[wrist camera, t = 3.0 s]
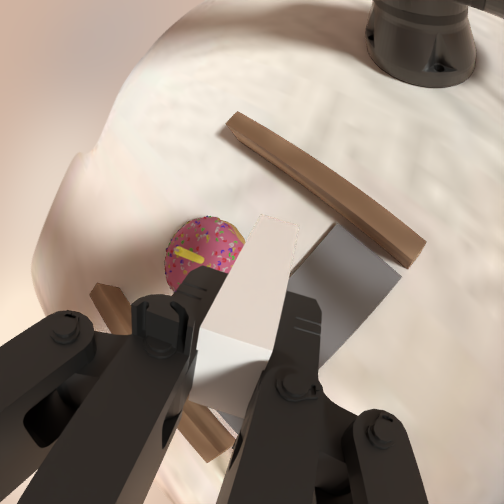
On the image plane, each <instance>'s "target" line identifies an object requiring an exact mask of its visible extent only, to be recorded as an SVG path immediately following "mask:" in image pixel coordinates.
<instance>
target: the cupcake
mask: <svg viewBox="0 0 504 504" xmlns="http://www.w3.org/2000/svg"><path fill="white" fill-rule="evenodd" d="M244 244H245V240H244V238H243V236H242V235H241V234H240V233H239V231H238V230H237V228H236V227H235V226H234V225H232V224H230V223H228V222H226V221H223V220H220V219H219V218H217V217H211V216H209V217H208V216H206V217H203V218H198V219H194V220H192V221H188V222H187V224H186V225H183V226H182V228H181V229H180V230H178V232H177V233H176V234H175V235H174V237H173V238H172V239H171V242H170V243H169V247H168V248H167V249H166V252H167V254H166V257H165V261H164V265H165V274H166V280H167V283H168V284H169V286H170V289H172V290H173V291H174V292H176V290H177V288H178V287H179V286H180V284H182V282H183V280H184V279H185V277H186V276H187V275H188V273H189V272H190V271H192V270H194V269H196V268H198V267H200V266H202V265H203V266H207V267H210V268H213V269H216V270H219V271H222V272H225V273H228V274H229V272H230V270H231V268H232V266H233V265H234V263H235V261H236V259H237V257H238V255H239V254H240V252H241V250H242V248H243V246H244Z"/></svg>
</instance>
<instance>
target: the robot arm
mask: <svg viewBox="0 0 504 504" xmlns="http://www.w3.org/2000/svg"><path fill="white" fill-rule="evenodd" d="M468 6H471V7H474V8H477V9H480V10H482V11H485V12H488V13H490V14H493V15H495V16H498V17H500V18H503V19H504V0H373V2H372V6H371V10H370V14H369V18H368V22H367V26H366V31H365V37H366V44H367V49H368V52H369V55H370V57H371V58H372V60H373V61H374V62H375V63H376V64H377V65H378V66H379V67H380V68H381V69H382V70H384V71H385V72H387V73H388V74H390V75H391V76H393V77H395V78H397V79H400V80H402V81H405V82H407V83H411V84H414V85H418V86H424V87H433V88H443V87H450V86H454V85H457V84H460V83H462V82H464V81H465V80H466V79H468V78H469V77H470V75H471V74H472V72H473V69H474V65H475V60H476V48H475V43H474V39H473V35H472V31H471V27H470V24H469V20H468ZM298 231H299V225H295V224H292V223H289V222H286V221H282V220H279V219H276V218H272V217H269V216H266V215H262V214H261V215H260V217H259V218H258V220H257V222H256V224H255V226H254V228H253V230H252V231H251V233H250V235H249V237H248V239H247V241H246V242H245V244H244V246H243V248H242V250H241V252H240V254H239V255H238V257H237V259H236V261H235V263H234V265H233V266H232V268H231V270H230V272H229V274H228V273H225V272H222V271H219V270H216V269H213V268H210V267H207V266H203V265H202V266H200V267H198V268H196V269H194V270H192V271H190V272H189V273H188V275H187V276H186V277H185V279H184V280H183V282H182V284H180V286H179V287H178V288H177V290H176V292H174V294H173V295H172V296H168V295H163V294H158V295H148V296H145V297H141V298H139V299H138V300H136V301H135V302H134V303H132V304H131V321H132V334H129V335H116V334H109V333H103V332H97V331H94V328H93V324H92V322H91V321H90V320H89V319H88V317H87V316H85V315H83V314H81V313H79V312H75V311H69V310H67V311H58V312H56V313H53V314H51V315H49V316H47V317H45V318H44V319H42V320H41V321H39V322H38V323H36V324H34V325H33V326H31V327H30V328H28V329H27V330H25V331H23V332H22V333H20V334H19V335H17V336H16V337H14V338H13V339H11V340H10V341H8V342H7V343H5V344H4V345H2V346H1V347H0V502H1V501H2V500H3V499H4V498H5V497H7V496H8V495H9V494H10V493H11V492H12V491H13V490H15V489H16V488H17V487H18V486H19V485H20V484H21V483H23V482H24V481H25V480H26V479H27V478H28V477H29V476H31V475H32V474H33V473H34V472H35V471H36V470H37V469H38V468H39V469H38V470H37V472H36V474H35V475H34V477H33V478H32V480H31V481H30V483H29V485H28V486H27V488H26V490H25V491H24V493H23V494H22V496H21V498H20V499H19V501H18V503H17V504H143V502H144V500H145V498H146V496H147V493H148V491H149V489H150V487H151V484H152V482H153V480H154V478H155V476H156V473H157V471H158V469H159V467H160V464H161V462H162V460H163V458H164V456H165V453H166V451H167V449H168V447H169V444H170V442H171V440H172V438H173V436H174V433H175V431H176V429H177V427H178V424H179V422H180V420H181V417H182V412H183V406H184V404H185V402H186V400H187V397H188V395H189V399H188V400H189V401H192V402H195V403H198V404H200V405H203V406H206V407H209V408H212V409H215V410H218V411H221V412H224V413H227V414H230V415H234V416H237V417H240V418H244V421H243V424H242V427H241V429H240V432H239V434H238V436H237V438H236V440H235V443H234V445H233V447H232V449H233V452H232V455H231V458H230V462H229V465H228V468H227V471H226V474H225V477H224V481H223V484H222V487H221V490H220V493H219V496H218V499H217V502H216V504H428V500H427V496H426V493H425V489H424V486H423V482H422V479H421V476H420V472H419V469H418V466H417V463H416V459H415V456H414V453H413V450H412V447H411V444H410V441H409V438H408V435H407V432H406V430H405V428H404V426H403V424H402V423H401V422H400V421H399V420H398V419H397V418H396V417H395V416H394V415H392V414H390V413H388V412H386V411H384V410H378V409H371V410H367V411H364V412H363V413H361V414H360V415H359V416H357V415H355V414H353V413H351V412H349V411H347V410H345V409H343V408H342V407H340V406H338V405H337V404H335V403H334V402H332V401H331V400H330V399H329V398H328V397H327V396H326V395H325V394H324V392H323V387H322V385H321V384H320V382H319V380H318V368H319V354H320V339H321V336H320V335H321V322H322V311H321V309H320V307H319V304H318V302H317V300H316V299H313V298H310V297H307V296H303V295H300V294H297V293H293V292H290V291H287V290H286V289H287V285H288V280H289V275H290V271H291V266H292V261H293V256H294V251H295V246H296V241H297V236H298Z"/></svg>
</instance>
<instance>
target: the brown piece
mask: <svg viewBox="0 0 504 504" xmlns="http://www.w3.org/2000/svg"><path fill="white" fill-rule="evenodd" d="M226 125H227V126H228V127H229V129H230V130H231V131H232V132H233V134H234V135H235V136H236V137H237V139H238V140H239V141H240V142H241V143H243V144H244V145H246V146H247V147H249V148H250V149H252V150H253V151H255V152H256V153H258V154H259V155H261V156H262V157H263V158H265V159H266V160H268V161H269V162H271V163H272V164H273V165H275V166H276V167H278V168H279V169H281V170H282V171H283V172H285V173H286V174H288V175H289V176H290V177H292V178H293V179H295V180H296V181H297V182H299V183H300V184H301V185H303V186H304V187H305V188H307V189H308V190H310V191H311V192H312V193H314V194H315V195H316V196H318V197H319V198H320V199H322V200H323V201H324V202H326V203H327V204H328V205H329V206H331V207H332V208H333V209H335V210H336V211H337V212H339V213H340V214H341V215H342V216H344V217H345V218H346V219H347V220H349V221H350V222H351V223H353V224H354V225H355V226H356V227H358V228H359V229H360V230H361V231H363V232H364V233H365V234H366V235H368V236H369V237H370V238H371V239H372V240H374V241H375V242H376V243H377V244H378V245H380V246H381V247H382V248H383V249H384V250H386V251H387V252H388V253H389V254H390V255H392V256H393V257H394V258H395V259H396V260H398V261H399V262H400V263H401V264H402V265H403V266H404V267H406V268H407V269H409V267H410V266H411V265H412V263H413V262H414V261H415V260H416V258H417V257H418V256H419V254H420V253H421V251H422V249H423V248H424V246H425V244H426V241H425V240H424V239H423V238H421V237H420V236H419V235H418V234H417V233H415V232H414V231H413V230H412V229H410V228H409V227H408V226H407V225H405V224H404V223H403V222H402V221H400V220H399V219H398V218H397V217H395V216H394V215H393V214H392V213H390V212H389V211H388V210H386V209H385V208H384V207H382V206H381V205H380V204H378V203H377V202H376V201H375V200H373V199H372V198H370V197H369V196H368V195H366V194H365V193H364V192H362V191H361V190H360V189H358V188H357V187H355V186H354V185H353V184H351V183H350V182H348V181H347V180H346V179H344V178H343V177H341V176H340V175H339V174H337V173H336V172H334V171H333V170H331V169H330V168H328V167H327V166H325V165H324V164H322V163H321V162H319V161H318V160H316V159H315V158H313V157H312V156H310V155H309V154H307V153H306V152H304V151H303V150H301V149H300V148H298V147H296V146H295V145H293V144H292V143H290V142H289V141H287V140H285V139H284V138H282V137H281V136H279V135H277V134H276V133H274V132H272V131H271V130H269V129H267V128H266V127H264V126H262V125H261V124H259V123H257V122H256V121H254V120H252V119H250V118H249V117H247V116H245V115H243V114H242V113H240V112H238V111H237V112H236V113H235V114H234V115H233V116H232V117H231V118H230V119H229V120H228V121H227V123H226ZM401 277H402V276H400V275H399V274H398V273H397V272H396V271H395V270H394V269H392V268H391V267H390V266H389V265H388V264H387V263H385V262H384V261H383V260H382V259H381V258H380V257H378V256H377V255H376V254H375V253H374V252H372V251H371V250H370V249H369V248H368V247H366V246H365V245H364V244H363V243H362V242H360V241H359V240H358V239H357V238H356V237H354V236H353V235H352V234H351V233H349V232H348V231H347V230H346V229H344V228H343V227H342V226H341V225H339V224H338V223H337V224H336V225H335V227H334V228H333V229H332V230H331V231H330V232H329V234H328V235H327V236H326V237H325V238H324V239H323V241H322V242H321V243H320V244H319V245H318V246H317V247H316V249H315V250H314V251H313V252H312V253H311V254H310V255H309V257H308V258H307V259H306V260H305V261H304V262H303V263H302V265H301V266H300V267H299V268H298V269H297V270H296V271H295V272H294V274H293V275H292V276H291V277H290V278H289V280H288V285H287V289H286V290H287V291H290V292H293V293H297V294H300V295H303V296H307V297H310V298H313V299H316V300H317V302H318V304H319V307H320V309H321V311H322V322H321V335H320V336H321V339H320V354H319V368H320V367H321V366H322V365H323V364H324V363H325V362H326V361H327V360H328V359H329V358H330V357H331V356H332V355H333V354H334V353H335V352H336V351H337V350H338V349H339V348H340V347H341V346H342V345H343V344H344V343H345V342H346V341H347V340H348V338H349V337H350V336H351V335H352V334H353V333H354V332H355V331H356V330H357V329H358V328H359V327H360V325H361V324H362V323H363V322H364V321H365V320H366V319H367V318H368V316H369V315H370V314H371V313H372V312H373V311H374V310H375V308H376V307H377V306H378V305H379V304H380V303H381V302H382V300H383V299H384V298H385V297H386V296H387V294H388V293H389V292H390V291H391V290H392V288H393V287H394V286H395V285H396V284H397V282H398V281H399V280H400V279H401ZM89 295H90V297H91V299H92V300H93V302H94V304H95V306H96V308H97V309H98V311H99V313H100V315H101V316H102V318H103V320H104V322H105V323H106V325H107V327H108V328H109V330H110V332H111V333H112V334H116V335H129V334H132V321H131V305H130V304H129V302H128V301H127V299H126V297H125V296H124V294H123V293H122V291H121V290H120V288H118V287H113V286H109V285H104V284H100V283H97V284H96V285H95V287H94V288H93V290H92V291H91V293H90V294H89ZM319 368H318V369H319ZM188 399H189V395H188V397H187V400H186V402H185V404H184V406H183V412H182V417H181V420H180V422H179V424H178V427H177V428H178V430H179V431H180V432H181V433H182V435H183V436H184V437H185V438H186V439H187V441H188V442H189V443H190V444H191V445H192V447H193V448H194V449H195V450H196V451H197V452H198V454H199V455H200V456H201V457H202V458H203V459H204V460H205V462H206V463H208V462H210V461H211V460H213V459H214V458H216V457H217V456H219V455H220V454H222V453H223V452H225V451H226V450H228V449H229V448H230V447H231V446H233V445H234V443H235V440H236V439H235V438H234V437H233V436H232V435H231V434H230V433H229V432H228V431H227V430H226V428H225V427H224V426H223V425H222V424H221V423H220V422H219V421H218V419H217V418H216V417H215V416H214V415H213V414H212V413H211V411H210V410H209V409H208V408H207V407H206V406H203V405H200V404H198V403H195V402H192V401H189V400H188ZM217 412H218V413H219V414H220V415H221V416H222V417H223V418H224V420H225V421H226V422H227V423H228V424H229V425H230V426H231V427H232V428H233V430H234V431H235V432H236V433H237V434H239V432H240V429H241V427H242V424H243V421H244V418H240V417H237V416H234V415H230V414H227V413H224V412H221V411H218V410H217Z"/></svg>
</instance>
